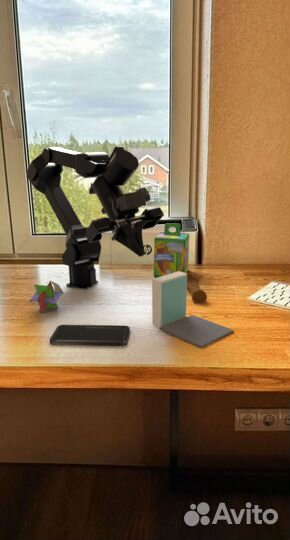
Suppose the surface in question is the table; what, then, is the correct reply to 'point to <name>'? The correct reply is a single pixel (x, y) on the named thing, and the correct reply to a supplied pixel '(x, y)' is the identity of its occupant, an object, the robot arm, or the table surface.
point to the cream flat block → (169, 298)
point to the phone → (90, 335)
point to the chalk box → (171, 251)
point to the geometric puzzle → (47, 295)
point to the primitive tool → (195, 290)
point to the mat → (196, 330)
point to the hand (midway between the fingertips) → (142, 255)
